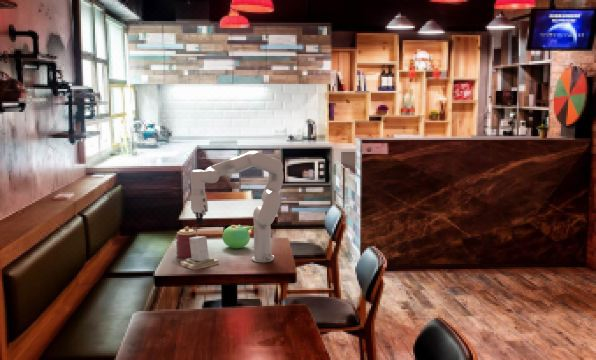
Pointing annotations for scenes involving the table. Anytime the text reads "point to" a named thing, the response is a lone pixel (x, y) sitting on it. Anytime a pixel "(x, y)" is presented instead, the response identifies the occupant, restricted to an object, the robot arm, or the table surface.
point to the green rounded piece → (236, 236)
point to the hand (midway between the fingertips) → (199, 224)
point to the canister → (184, 242)
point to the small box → (199, 248)
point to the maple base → (198, 263)
